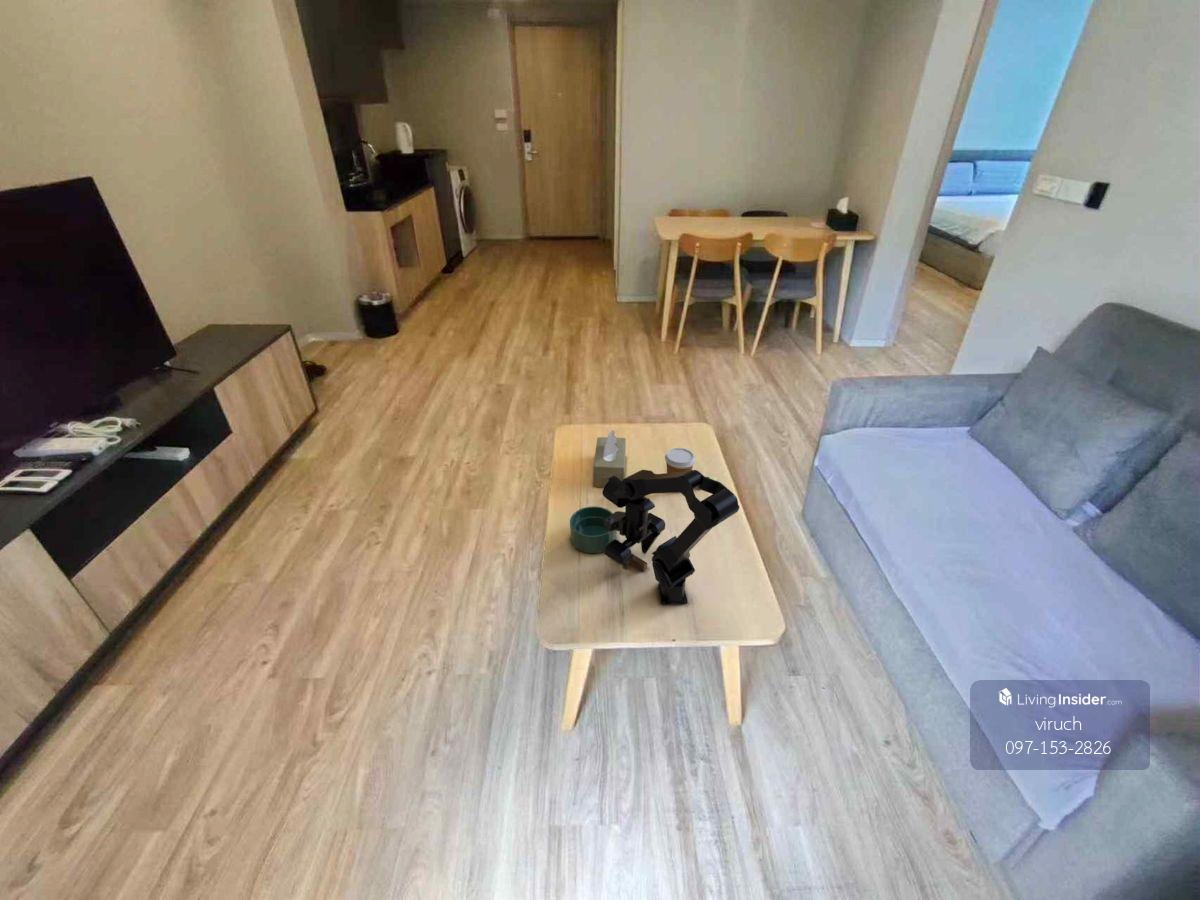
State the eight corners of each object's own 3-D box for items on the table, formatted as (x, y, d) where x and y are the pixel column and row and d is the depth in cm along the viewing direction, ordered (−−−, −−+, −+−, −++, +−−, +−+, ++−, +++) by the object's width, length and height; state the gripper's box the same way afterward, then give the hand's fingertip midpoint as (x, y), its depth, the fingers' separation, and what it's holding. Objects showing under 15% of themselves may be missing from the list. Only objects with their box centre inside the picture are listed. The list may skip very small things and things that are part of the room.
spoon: (649, 566, 143) (650, 560, 142) (641, 574, 141) (641, 568, 140) (624, 551, 148) (624, 545, 147) (615, 558, 146) (615, 552, 145)
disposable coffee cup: (698, 490, 171) (701, 459, 165) (671, 497, 168) (674, 466, 162) (683, 475, 178) (686, 444, 172) (657, 481, 176) (659, 450, 169)
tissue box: (623, 488, 172) (624, 447, 164) (593, 487, 173) (592, 446, 165) (625, 456, 188) (626, 417, 180) (597, 455, 189) (597, 416, 180)
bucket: (618, 553, 147) (618, 535, 144) (570, 555, 147) (570, 537, 143) (614, 522, 158) (614, 505, 155) (570, 524, 158) (569, 507, 154)
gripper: (634, 486, 146) (633, 530, 154) (588, 519, 134) (589, 565, 142) (668, 503, 139) (664, 548, 148) (622, 540, 128) (621, 586, 136)
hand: (634, 560), depth 144 cm, fingers open, 8 cm apart
